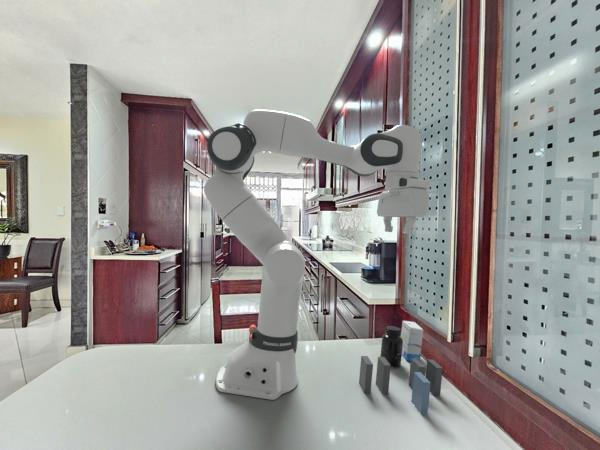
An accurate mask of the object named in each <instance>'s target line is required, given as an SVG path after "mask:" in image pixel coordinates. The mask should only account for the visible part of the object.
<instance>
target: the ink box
mask: <svg viewBox="0 0 600 450" xmlns="http://www.w3.org/2000/svg"><path fill="white" fill-rule="evenodd" d="M400 337H401V338H402V339H403V347H402V357H403V358H404V359H405V361H407V362H411V358H413V359H418V360H419V361H420V362H421V356H422V347H423V346H422V345H423V338H424V329H423V328H422V327H421V326H420V325H419V324H418V323H416V322H415V321H409V320H402V324H401V335H400Z"/></svg>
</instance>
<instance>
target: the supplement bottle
mask: <svg viewBox="0 0 600 450" xmlns="http://www.w3.org/2000/svg"><path fill="white" fill-rule="evenodd" d="M401 331H402V328H399V327H398V326H395V325H387V326H386V327H385V333H384V334H383V335H382V337H381V346H380V356H379V357H384V358H385V359H386V360H387V361H388V363H389V364H390V365H391V368H398V367H400V366H401V364H402V357H403V355H402V347H403V339H402V338H401Z"/></svg>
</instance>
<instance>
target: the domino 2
mask: <svg viewBox="0 0 600 450" xmlns="http://www.w3.org/2000/svg"><path fill="white" fill-rule="evenodd" d="M391 368H392V367H391V365H390V364H389V363H388V361H387V360H386V359H385V358H384V357H380V356H377V365H376V373H375V374H376V376H375V385H376V387H377V389H378V388H379V389H378V390H379V392H380V391H381V392H380V393H381V395H389V387H390V378H391ZM383 393H384V394H383Z"/></svg>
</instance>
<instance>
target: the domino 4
mask: <svg viewBox="0 0 600 450" xmlns="http://www.w3.org/2000/svg"><path fill="white" fill-rule="evenodd" d="M411 390H412V391H411V392H412V393H411V400H410V401H411V403H412V404H414V405H415V406H414V405H413V406H414V407H415V409H416V408H417V409H416V410H417V411H418V413H419V412H420V413H421V414H420V413H419V414H420V415H428V413H429V403H430V393H431V392H430V382H429V381H428V379H427V378H426V375H425V376H424V375H423V374H422V373H421V372H414V379H413V389H411Z"/></svg>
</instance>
